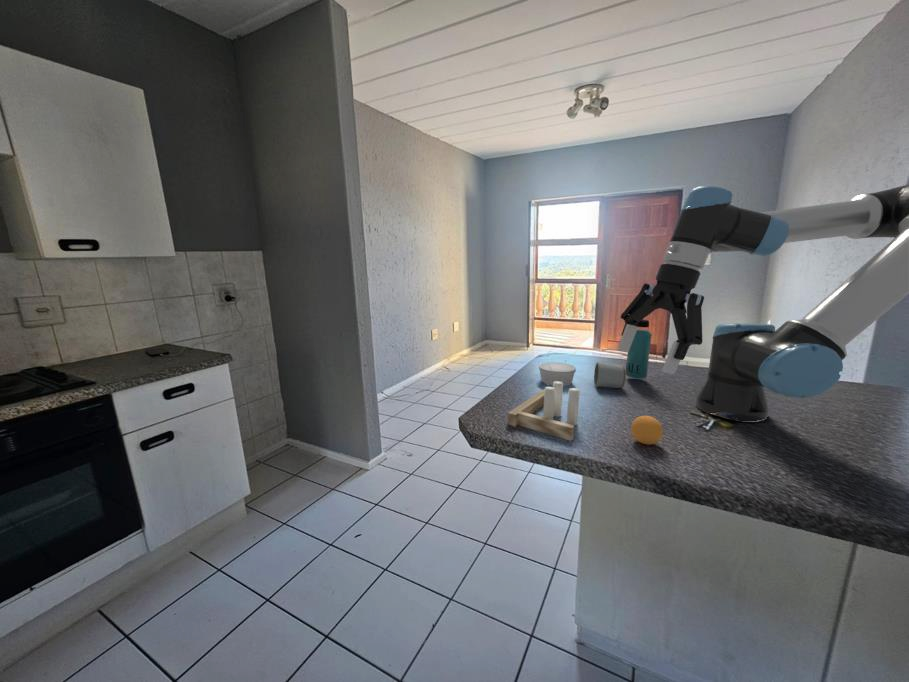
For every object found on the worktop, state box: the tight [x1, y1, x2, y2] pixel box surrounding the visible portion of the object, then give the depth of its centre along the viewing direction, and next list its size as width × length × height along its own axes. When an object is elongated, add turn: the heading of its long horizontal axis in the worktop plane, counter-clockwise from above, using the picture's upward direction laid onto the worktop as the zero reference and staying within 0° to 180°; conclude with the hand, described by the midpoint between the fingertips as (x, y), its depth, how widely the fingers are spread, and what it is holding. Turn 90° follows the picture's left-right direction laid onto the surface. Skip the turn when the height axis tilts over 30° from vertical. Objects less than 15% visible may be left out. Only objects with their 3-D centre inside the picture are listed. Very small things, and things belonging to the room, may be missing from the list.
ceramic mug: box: [593, 361, 627, 389], centre depth 114 cm, size 11×8×8 cm
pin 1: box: [542, 386, 555, 420], centre depth 88 cm, size 2×2×8 cm
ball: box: [630, 415, 664, 446], centre depth 78 cm, size 6×6×6 cm
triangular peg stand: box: [507, 389, 575, 442], centre depth 91 cm, size 15×20×3 cm
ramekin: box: [538, 361, 577, 387], centre depth 118 cm, size 11×11×5 cm
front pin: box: [566, 387, 581, 426], centre depth 87 cm, size 2×2×8 cm
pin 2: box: [552, 381, 564, 418], centre depth 92 cm, size 2×2×8 cm
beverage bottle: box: [625, 319, 652, 380], centre depth 117 cm, size 6×7×20 cm
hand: (643, 361), depth 81 cm, fingers open, 13 cm apart
